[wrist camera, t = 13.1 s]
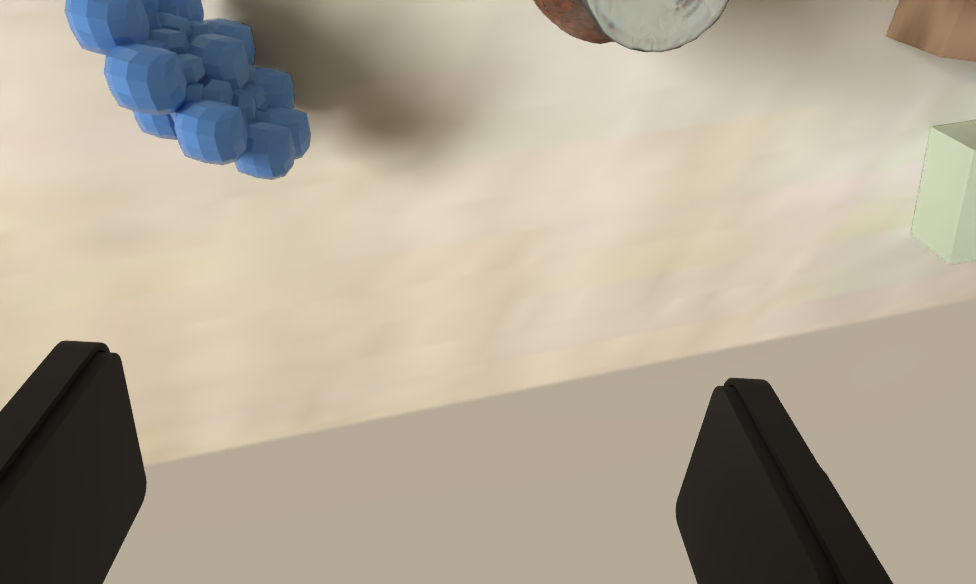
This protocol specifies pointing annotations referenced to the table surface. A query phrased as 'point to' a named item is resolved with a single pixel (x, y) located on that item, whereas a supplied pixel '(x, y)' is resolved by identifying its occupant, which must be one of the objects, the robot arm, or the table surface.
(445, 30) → the table surface
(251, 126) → the grapes
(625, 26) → the sauce bottle
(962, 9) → the walnut block
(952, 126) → the green block
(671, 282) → the table surface
